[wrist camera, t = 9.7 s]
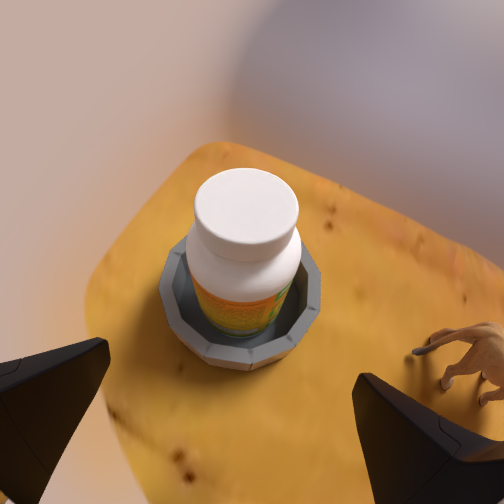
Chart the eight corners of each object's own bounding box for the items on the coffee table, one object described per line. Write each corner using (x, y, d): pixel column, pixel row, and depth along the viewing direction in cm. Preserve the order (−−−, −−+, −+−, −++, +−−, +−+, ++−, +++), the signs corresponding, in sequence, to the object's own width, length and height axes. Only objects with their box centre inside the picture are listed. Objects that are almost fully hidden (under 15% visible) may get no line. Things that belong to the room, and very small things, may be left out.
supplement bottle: (275, 345, 17) (318, 274, 8) (192, 331, 17) (154, 248, 9) (282, 273, 20) (316, 167, 11) (209, 261, 20) (197, 151, 12)
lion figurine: (507, 363, 16) (569, 330, 8) (500, 411, 13) (569, 388, 5) (412, 325, 18) (489, 270, 11) (399, 388, 16) (490, 358, 8)
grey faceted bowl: (197, 389, 15) (189, 385, 12) (158, 265, 20) (147, 240, 17) (330, 336, 18) (347, 321, 15) (273, 230, 22) (279, 203, 19)
